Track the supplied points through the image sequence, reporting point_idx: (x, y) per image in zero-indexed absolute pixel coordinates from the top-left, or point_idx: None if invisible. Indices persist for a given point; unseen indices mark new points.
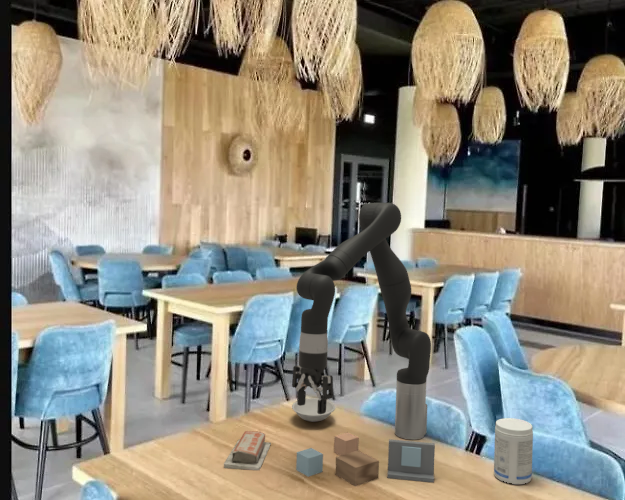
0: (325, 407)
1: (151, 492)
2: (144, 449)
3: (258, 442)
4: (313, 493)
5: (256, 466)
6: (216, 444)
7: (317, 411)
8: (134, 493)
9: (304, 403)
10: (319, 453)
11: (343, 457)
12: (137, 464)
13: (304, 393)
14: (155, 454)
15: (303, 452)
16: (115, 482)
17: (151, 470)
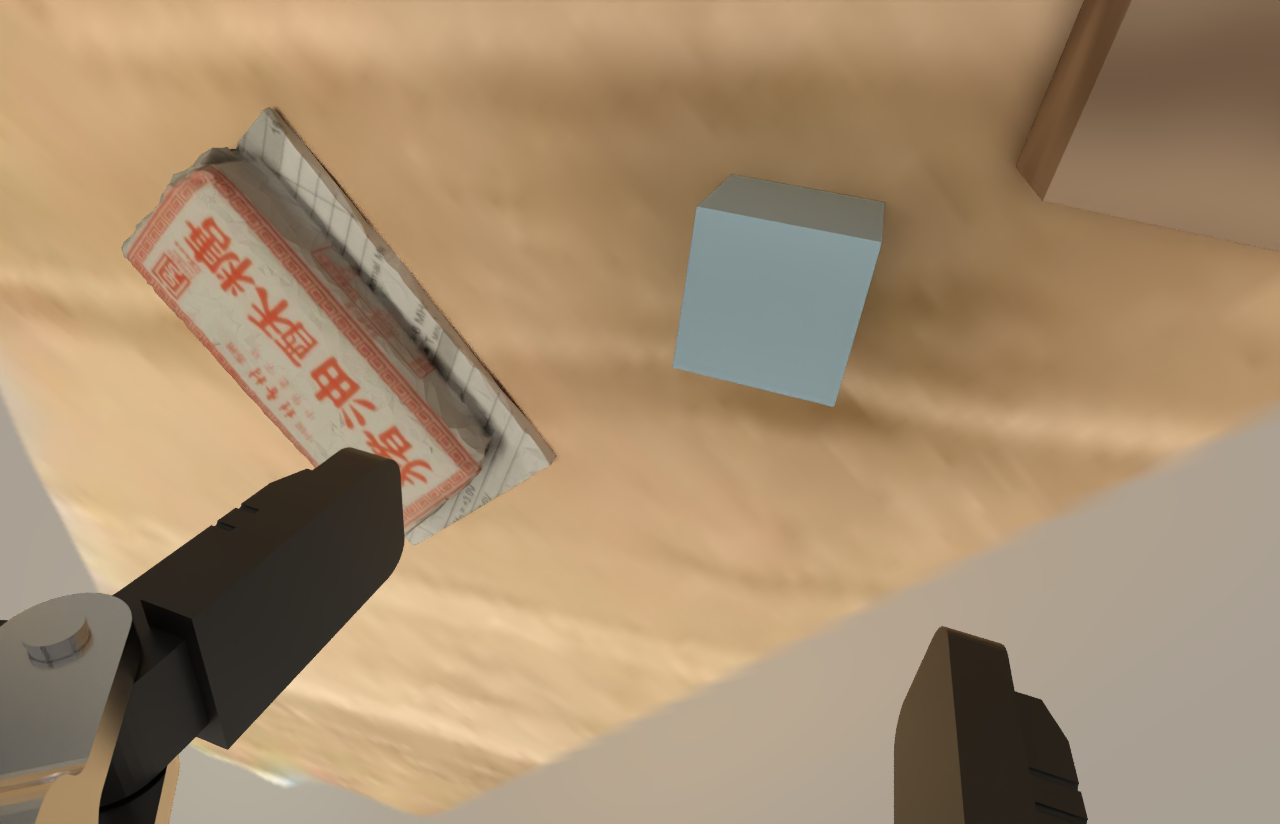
0: (1072, 818)
1: (464, 786)
2: (117, 567)
3: (328, 342)
4: (1035, 511)
5: (526, 461)
6: (156, 347)
7: (895, 762)
8: (440, 806)
9: (385, 476)
10: (846, 258)
11: (1133, 147)
12: None
13: (237, 609)
14: None
15: (717, 337)
16: (338, 776)
17: (305, 678)
